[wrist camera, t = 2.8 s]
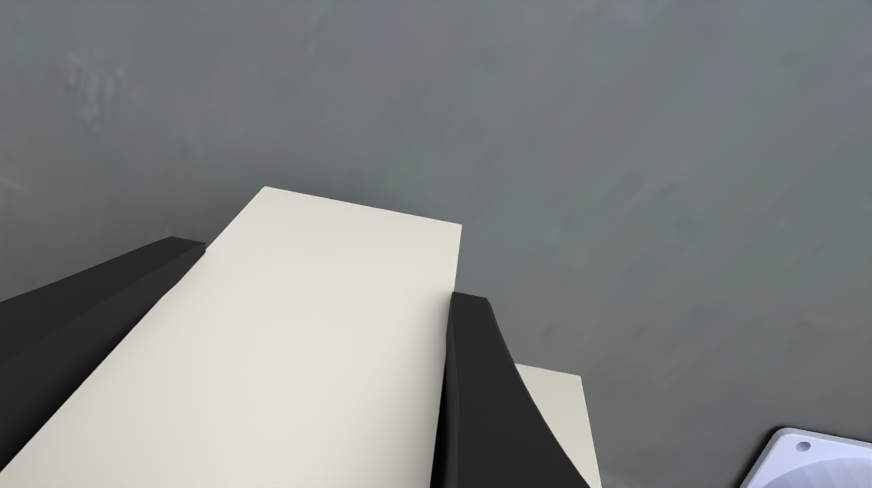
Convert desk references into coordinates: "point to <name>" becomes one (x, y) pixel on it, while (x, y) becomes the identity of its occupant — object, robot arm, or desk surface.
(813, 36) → the desk surface
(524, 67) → the desk surface
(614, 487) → the desk surface
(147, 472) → the domino
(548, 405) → the domino
